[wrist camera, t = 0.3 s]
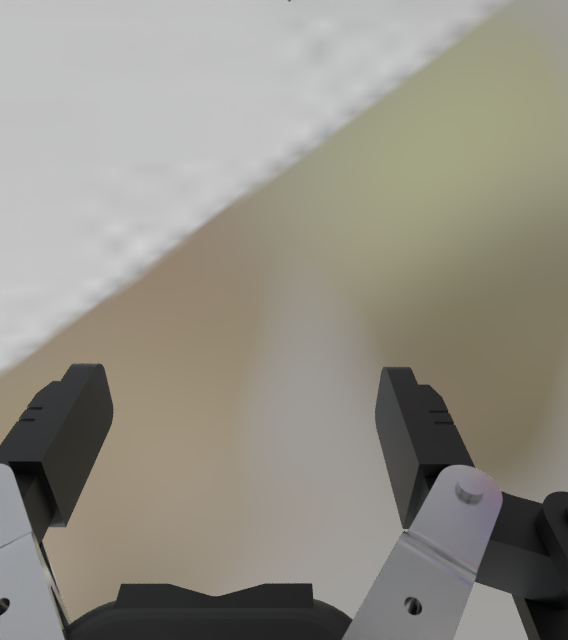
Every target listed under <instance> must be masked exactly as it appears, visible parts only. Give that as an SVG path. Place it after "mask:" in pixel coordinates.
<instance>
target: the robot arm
mask: <svg viewBox="0 0 568 640" xmlns="http://www.w3.org/2000/svg"><path fill="white" fill-rule="evenodd" d="M112 418H113V403H112V399H111V395H110V391H109V386H108V382H107V378H106V374H105V370H104V367H103V365H102V364H72V365H71V366H70V367H69V369H68V370H67V372H66V374H65V375H64V377H63V378H62V380H61V381H52V382H51V383H50V384H49V385H47V386H46V387H44V388H43V389H42V390H40V391H39V392H38V393H37V394H36V395H35V397H34V398H33V399H32V401H31V402H30V404H29V405H28V406H27V410H25V411H24V412H23V414H22V415H21V416H20V418H19V422H16V424H15V425H14V426H13V428H12V429H11V431H10V432H9V433H8V435H7V436H6V438H5V439H4V441H3V442H2V443H1V445H0V640H453V638H454V636H455V633H456V630H457V627H458V625H459V622H460V619H461V617H462V614H463V611H464V609H465V606H466V603H467V601H468V598H469V595H470V592H471V590H472V587H473V584H474V582H477V583H480V584H483V585H487V586H490V587H493V588H496V589H499V590H502V591H505V592H508V593H511V594H512V596H513V599H514V602H515V604H516V607H517V610H518V612H519V615H520V618H521V620H522V623H523V626H524V628H525V631H526V633H527V636H528V639H529V640H568V492H555V493H552V494H549V495H548V496H547V497H546V498H545V500H544V502H543V504H541V503H538V502H535V501H531V500H527V499H523V498H520V497H516V496H513V495H510V494H507V493H504V492H502V491H500V488H499V487H498V485H497V484H496V483H495V481H494V480H493V479H492V478H491V477H489V476H488V475H487V474H485V473H484V472H482V471H480V470H479V469H476V468H475V466H474V464H473V462H472V460H471V458H470V455H469V453H468V451H467V449H466V447H465V445H464V443H463V441H462V438H461V436H460V434H459V432H458V430H457V428H456V426H455V425H454V422H453V420H452V418H451V415H450V414H449V413H448V409H447V407H446V405H445V403H444V401H443V398H442V397H441V396H440V395H439V394H438V393H437V392H436V391H435V390H434V389H433V388H432V387H431V386H430V385H418V384H417V381H416V379H415V376H414V374H413V372H412V370H411V368H410V367H383V369H382V372H381V378H380V383H379V390H378V396H377V402H376V408H375V421H376V428H377V432H378V436H379V440H380V443H381V447H382V451H383V455H384V459H385V463H386V467H387V470H388V474H389V478H390V482H391V486H392V489H393V493H394V497H395V501H396V505H397V508H398V512H399V516H400V520H401V524H402V527H403V529H409V530H408V532H405V531H404V532H403V533H402V534H401V536H400V537H399V539H398V540H397V542H396V544H395V546H394V548H393V549H392V551H391V553H390V555H389V556H388V558H387V560H386V562H385V564H384V565H383V567H382V569H381V571H380V572H379V574H378V576H377V578H376V580H375V581H374V583H373V585H372V587H371V589H370V590H369V592H368V594H367V596H366V597H365V599H364V601H363V603H362V605H361V606H360V608H359V610H358V612H357V613H356V615H355V617H354V619H351V618H350V617H349V616H347V615H346V614H345V613H344V612H342V611H340V610H338V609H337V608H335V607H334V606H331V605H329V604H327V603H325V602H322V601H319V600H316V599H313V592H312V591H313V590H312V584H262V585H259V586H255V587H251V588H248V589H244V590H240V591H237V592H233V593H230V594H226V595H222V596H218V597H217V596H209V595H206V594H202V593H199V592H195V591H192V590H188V589H185V588H181V587H178V586H174V585H171V584H121V586H120V590H119V593H118V597H117V600H116V601H113V602H109V603H107V604H104V605H102V606H99V607H97V608H95V609H93V610H91V611H89V612H88V613H86V614H84V615H83V616H82V617H80V618H78V619H77V620H75V621H74V622H72V623H71V620H70V617H69V615H68V612H67V610H66V607H65V604H64V601H63V598H62V595H61V593H60V589H59V586H58V584H57V581H56V578H55V575H54V572H53V569H52V566H51V563H50V560H49V557H48V554H47V551H46V548H45V546H44V543H43V541H42V539H43V538H44V535H45V533H46V531H47V529H48V527H66V525H67V523H68V521H69V519H70V516H71V514H72V512H73V510H74V508H75V505H76V503H77V501H78V498H79V496H80V494H81V492H82V489H83V487H84V485H85V483H86V481H87V478H88V476H89V474H90V472H91V469H92V467H93V465H94V463H95V460H96V458H97V456H98V453H99V451H100V449H101V447H102V445H103V442H104V440H105V438H106V436H107V433H108V431H109V429H110V426H111V424H112Z"/></svg>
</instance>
